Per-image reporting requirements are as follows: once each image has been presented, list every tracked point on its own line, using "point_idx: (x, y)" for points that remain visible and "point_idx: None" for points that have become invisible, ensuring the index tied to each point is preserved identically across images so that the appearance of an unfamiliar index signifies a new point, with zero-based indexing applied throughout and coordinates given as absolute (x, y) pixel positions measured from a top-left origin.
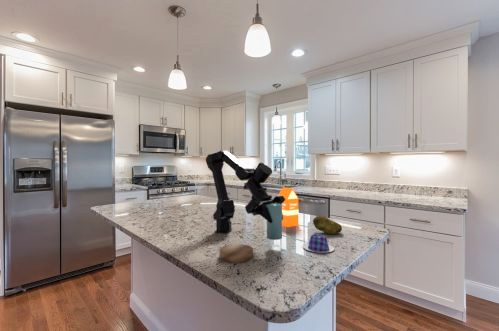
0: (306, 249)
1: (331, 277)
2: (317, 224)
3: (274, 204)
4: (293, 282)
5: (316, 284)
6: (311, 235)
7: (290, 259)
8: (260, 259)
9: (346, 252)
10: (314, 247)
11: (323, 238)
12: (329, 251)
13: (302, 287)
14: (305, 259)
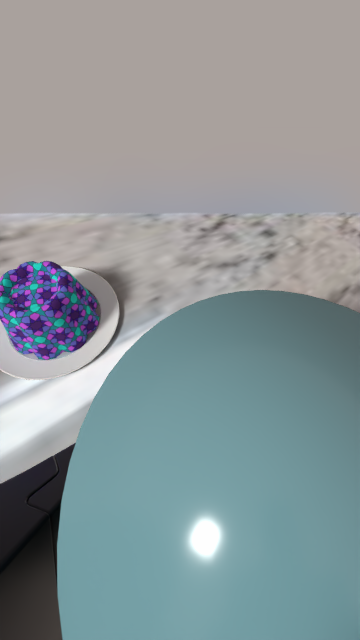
0: (113, 334)
1: (242, 215)
2: None
3: (304, 495)
4: (336, 254)
5: (296, 222)
6: (32, 317)
7: None
8: None
9: (46, 241)
10: (91, 308)
11: (53, 262)
12: (75, 273)
13: (333, 234)
14: (197, 298)
